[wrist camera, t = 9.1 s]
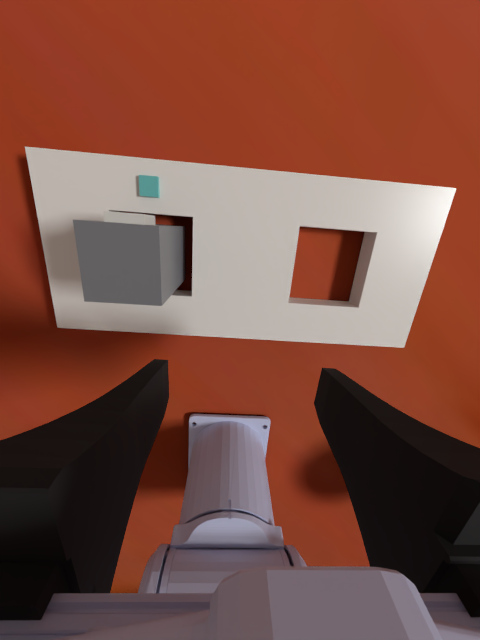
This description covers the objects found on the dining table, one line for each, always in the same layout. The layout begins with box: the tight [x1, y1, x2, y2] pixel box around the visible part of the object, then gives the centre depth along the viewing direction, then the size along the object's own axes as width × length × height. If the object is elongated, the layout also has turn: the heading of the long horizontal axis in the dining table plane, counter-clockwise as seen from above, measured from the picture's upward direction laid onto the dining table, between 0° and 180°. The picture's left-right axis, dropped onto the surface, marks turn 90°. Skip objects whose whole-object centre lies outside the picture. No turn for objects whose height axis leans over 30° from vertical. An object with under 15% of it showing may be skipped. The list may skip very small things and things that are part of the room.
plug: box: [73, 211, 186, 306], centre depth 16 cm, size 4×4×8 cm
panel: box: [25, 147, 456, 348], centre depth 19 cm, size 12×28×2 cm, turn 86°
